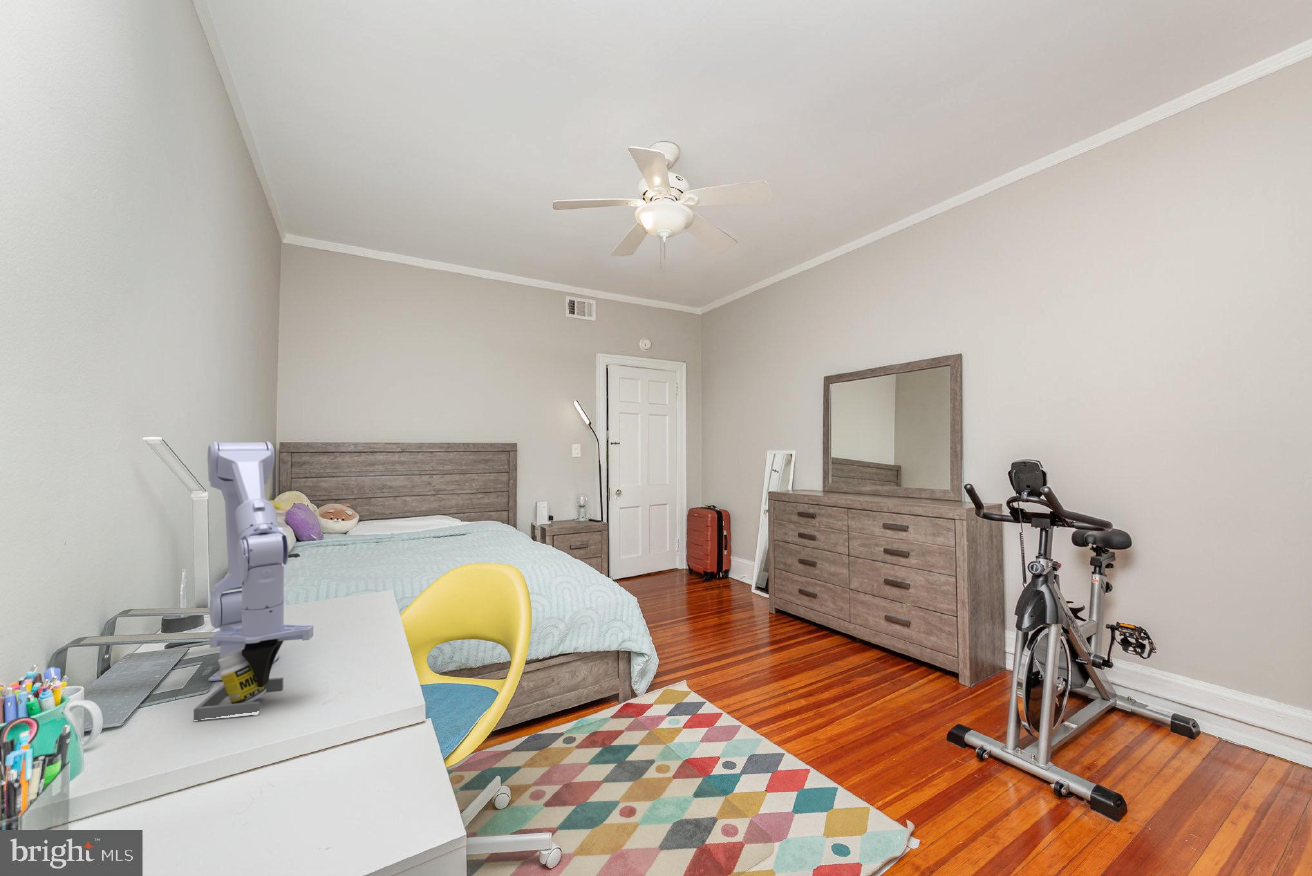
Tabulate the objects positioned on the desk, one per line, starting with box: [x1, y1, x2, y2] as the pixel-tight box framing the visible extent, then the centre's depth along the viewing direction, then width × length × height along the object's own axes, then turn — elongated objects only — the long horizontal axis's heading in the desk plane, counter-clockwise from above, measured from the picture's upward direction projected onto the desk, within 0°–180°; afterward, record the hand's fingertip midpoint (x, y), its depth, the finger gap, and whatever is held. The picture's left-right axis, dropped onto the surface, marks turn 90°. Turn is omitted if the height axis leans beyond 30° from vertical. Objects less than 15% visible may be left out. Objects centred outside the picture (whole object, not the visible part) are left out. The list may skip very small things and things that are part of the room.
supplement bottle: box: [217, 648, 267, 704], centre depth 89 cm, size 5×5×8 cm
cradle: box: [193, 677, 284, 721], centre depth 90 cm, size 9×9×2 cm
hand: (263, 684), depth 90 cm, fingers closed, pressing on supplement bottle
